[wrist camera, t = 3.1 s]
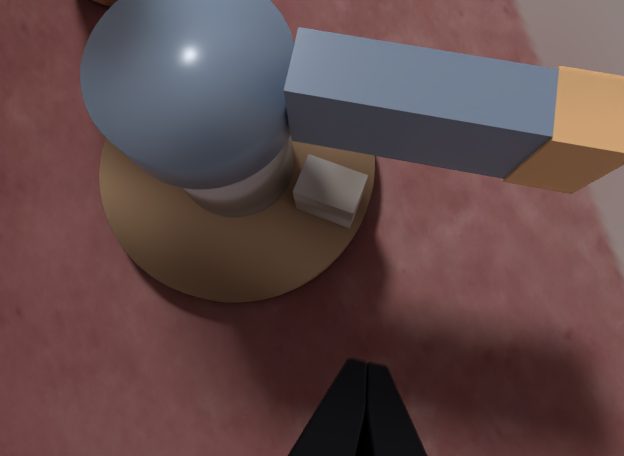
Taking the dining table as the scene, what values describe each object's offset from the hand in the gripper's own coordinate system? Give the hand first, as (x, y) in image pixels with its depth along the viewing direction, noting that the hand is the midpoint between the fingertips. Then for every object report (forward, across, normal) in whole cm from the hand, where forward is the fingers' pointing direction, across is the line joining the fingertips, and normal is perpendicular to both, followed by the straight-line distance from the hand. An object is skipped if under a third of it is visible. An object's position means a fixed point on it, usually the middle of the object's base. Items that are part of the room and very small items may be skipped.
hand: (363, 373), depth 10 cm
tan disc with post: (+12, +6, +2) cm, 13 cm away
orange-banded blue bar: (+7, +2, -3) cm, 8 cm away
